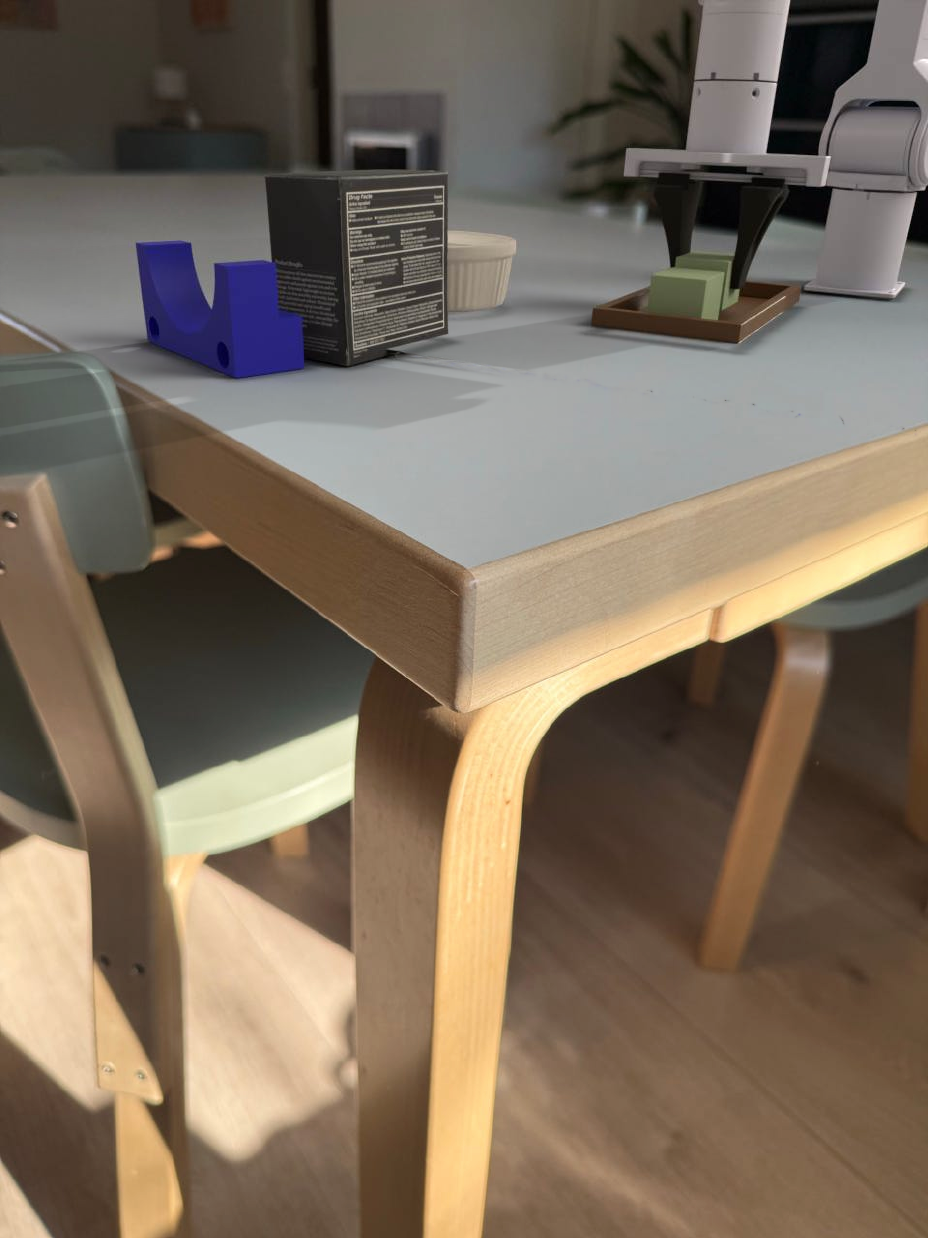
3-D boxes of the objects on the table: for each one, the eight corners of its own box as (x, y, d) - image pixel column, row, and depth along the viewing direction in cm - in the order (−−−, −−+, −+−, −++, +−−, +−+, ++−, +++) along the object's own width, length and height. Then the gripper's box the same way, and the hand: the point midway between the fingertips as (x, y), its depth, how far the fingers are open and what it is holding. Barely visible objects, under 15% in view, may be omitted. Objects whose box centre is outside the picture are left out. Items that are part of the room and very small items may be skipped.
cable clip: (304, 368, 57) (299, 261, 54) (236, 378, 54) (226, 266, 51) (211, 333, 65) (202, 239, 62) (147, 340, 62) (135, 242, 59)
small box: (377, 328, 68) (375, 165, 63) (451, 341, 65) (455, 170, 60) (270, 352, 60) (258, 168, 55) (349, 368, 57) (343, 174, 52)
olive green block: (688, 296, 77) (694, 250, 75) (737, 301, 75) (745, 254, 74) (669, 305, 73) (676, 256, 71) (721, 310, 71) (729, 261, 70)
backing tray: (677, 294, 86) (680, 273, 85) (797, 307, 81) (802, 285, 80) (590, 333, 69) (592, 307, 68) (737, 352, 64) (741, 324, 63)
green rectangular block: (666, 315, 73) (671, 266, 71) (717, 321, 71) (725, 271, 69) (645, 325, 69) (650, 274, 67) (699, 331, 67) (706, 279, 65)
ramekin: (356, 315, 72) (354, 240, 70) (392, 293, 82) (391, 227, 79) (502, 324, 71) (505, 248, 68) (520, 300, 80) (524, 233, 78)
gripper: (618, 78, 67) (600, 281, 73) (832, 80, 61) (792, 301, 67) (649, 83, 72) (630, 271, 79) (848, 85, 67) (810, 288, 73)
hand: (706, 284), depth 73 cm, fingers closed on olive green block, 4 cm apart
